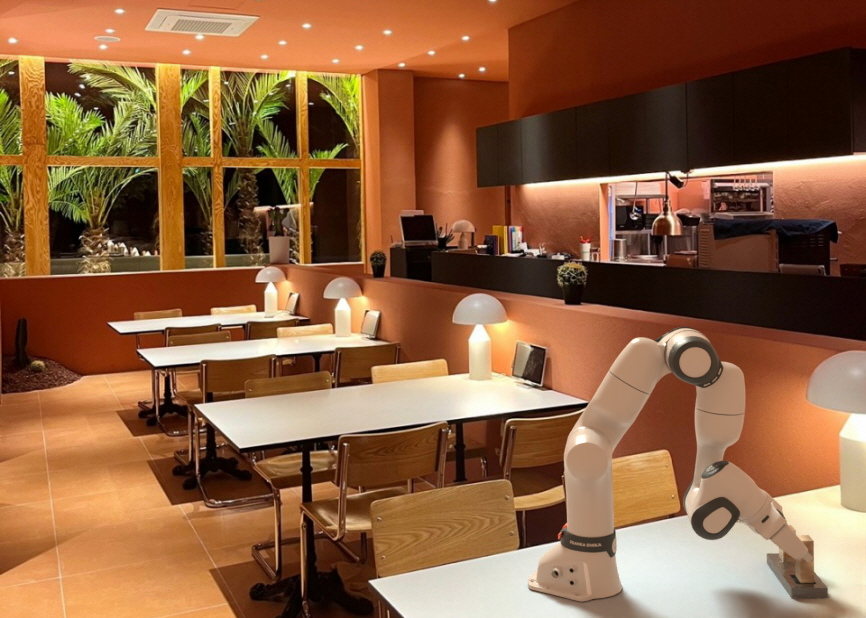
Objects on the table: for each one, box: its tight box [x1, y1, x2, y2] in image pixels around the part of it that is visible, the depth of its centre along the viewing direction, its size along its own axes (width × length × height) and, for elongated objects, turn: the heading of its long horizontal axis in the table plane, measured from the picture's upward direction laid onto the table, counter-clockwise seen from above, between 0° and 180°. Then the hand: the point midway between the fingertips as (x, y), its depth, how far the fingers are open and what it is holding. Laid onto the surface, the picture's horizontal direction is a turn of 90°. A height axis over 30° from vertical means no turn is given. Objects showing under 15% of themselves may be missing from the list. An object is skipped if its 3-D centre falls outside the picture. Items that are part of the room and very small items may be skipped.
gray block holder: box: [766, 524, 829, 599], centre depth 213 cm, size 8×22×10 cm, turn 173°
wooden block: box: [796, 534, 815, 583], centre depth 207 cm, size 3×4×10 cm
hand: (806, 555), depth 207 cm, fingers closed on wooden block, 4 cm apart
